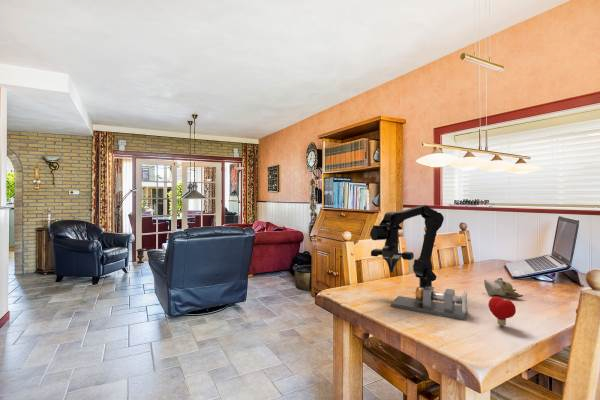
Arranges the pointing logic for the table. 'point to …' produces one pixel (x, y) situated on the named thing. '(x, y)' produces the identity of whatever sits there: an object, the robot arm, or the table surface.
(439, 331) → the table surface
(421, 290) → the shaft
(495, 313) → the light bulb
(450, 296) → the bearing frame
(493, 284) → the ceramic sculpture
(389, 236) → the robot arm
